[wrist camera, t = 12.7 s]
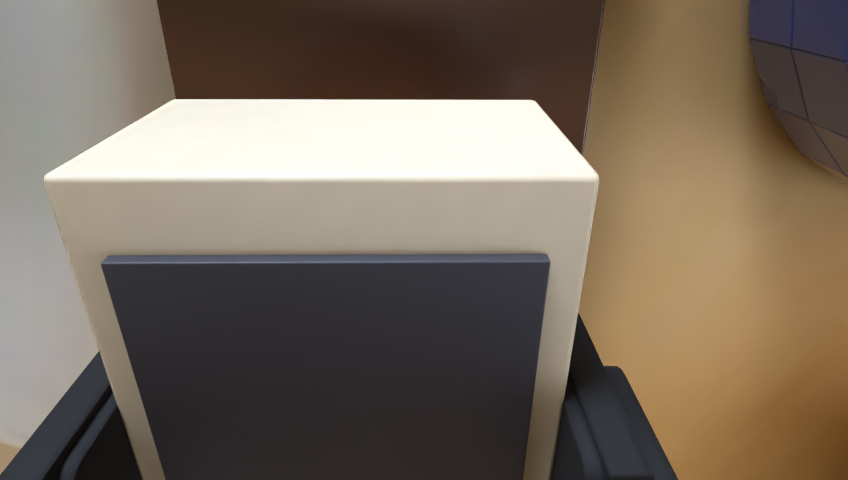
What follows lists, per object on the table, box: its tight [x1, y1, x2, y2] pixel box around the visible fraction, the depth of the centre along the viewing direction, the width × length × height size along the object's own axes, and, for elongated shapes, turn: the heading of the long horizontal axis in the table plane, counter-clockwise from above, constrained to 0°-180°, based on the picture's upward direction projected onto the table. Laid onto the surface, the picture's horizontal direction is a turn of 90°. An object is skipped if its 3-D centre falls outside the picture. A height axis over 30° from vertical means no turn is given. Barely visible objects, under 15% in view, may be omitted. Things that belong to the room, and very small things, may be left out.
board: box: [157, 0, 605, 156], centre depth 19 cm, size 20×13×2 cm, turn 0°
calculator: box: [44, 99, 599, 480], centre depth 10 cm, size 10×6×4 cm, turn 0°
